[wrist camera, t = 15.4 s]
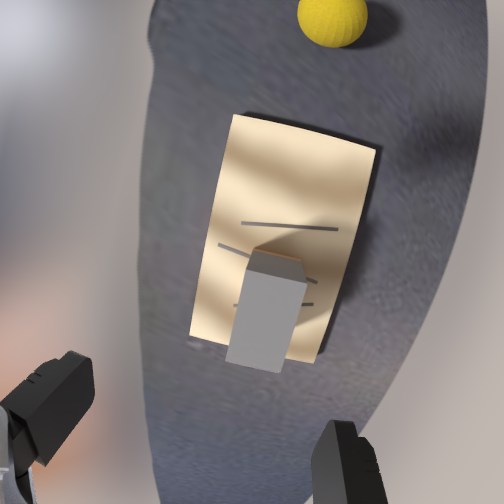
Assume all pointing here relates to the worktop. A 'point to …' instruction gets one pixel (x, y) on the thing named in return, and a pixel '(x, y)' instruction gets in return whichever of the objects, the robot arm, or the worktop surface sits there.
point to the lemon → (332, 21)
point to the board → (281, 222)
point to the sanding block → (267, 310)
